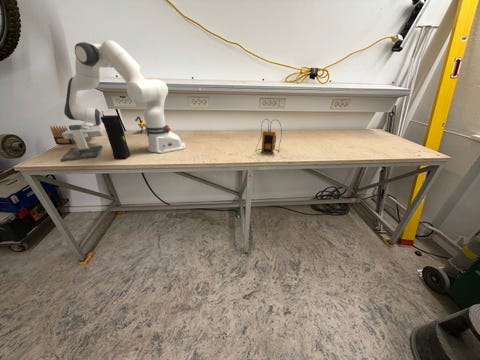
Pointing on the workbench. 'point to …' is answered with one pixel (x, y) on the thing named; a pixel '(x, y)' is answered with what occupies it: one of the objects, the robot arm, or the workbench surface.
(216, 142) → the workbench surface
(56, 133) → the ammunition clip
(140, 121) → the robot dog
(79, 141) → the fader tab
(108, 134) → the portable radio
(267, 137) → the multimeter
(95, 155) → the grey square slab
